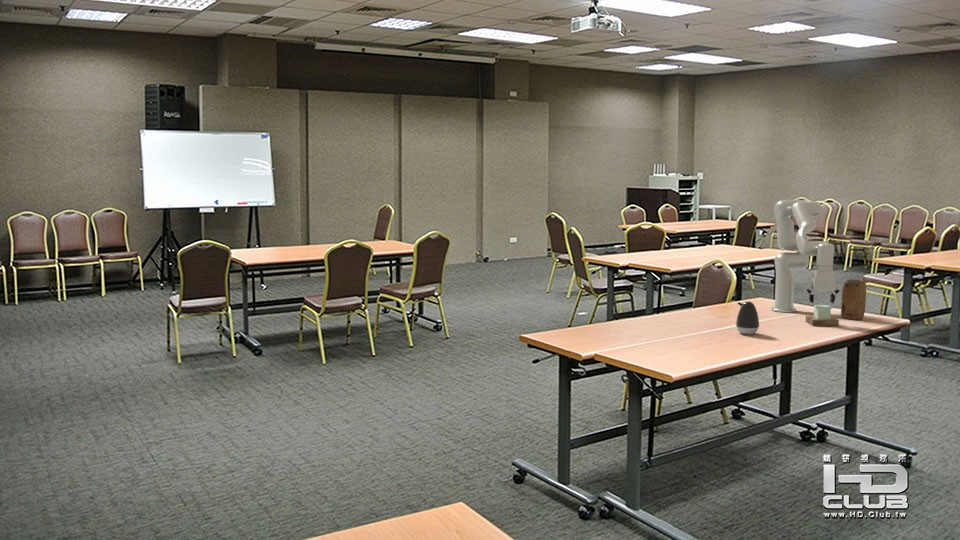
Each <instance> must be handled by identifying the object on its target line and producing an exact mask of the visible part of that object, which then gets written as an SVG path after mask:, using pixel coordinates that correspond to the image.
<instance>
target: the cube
mask: <svg viewBox="0 0 960 540" xmlns="http://www.w3.org/2000/svg"><path fill="white" fill-rule="evenodd" d="M831 311H832V307H831V306H829V305H828V304H814V306H813V316H814V317H815V318H817V319H830V316H831V313H832V312H831Z"/></svg>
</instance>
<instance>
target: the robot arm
mask: <svg viewBox="0 0 960 540" xmlns="http://www.w3.org/2000/svg"><path fill="white" fill-rule="evenodd" d="M773 211H774V212H773V213H774V218H775V221H776V236H777V237H776V240H777V241H776V242H777V248H779V249H780V250H783V251H792V250H793V251H795V252H780V253H778V254H776V256H775V257H774V268H775V287H774V288H775V291H774V306H771V311H773V312H779V313H796V312H797V308H796V307H794V304H795V303H794V302H795V301H794V300H795V298H794V297H795V280H796V279H795V276H794V274H793V273H792V272H791V271H803V270H806V269H807V268H808V266H809V263H810V262H809V261H810V257H816V262H815V263H816V264H815V265H813V266H812V269H814V271H813V274H812V280H811V281H810V282H809V283H807V284H805V285H804V289H805V290H806V292H807V293H808V294H809V299H808V300H809V302H810V303H811V304H813V303H814V302H815V301H814V300H815V299H814V298H815V295H814V294H815V293H816V292H819V293H821V292H822V293H830V300H829V301H830V303H831V304H834V303H835V301H836V296H837V294H839V292H840V291H841V289H843V286H841V285H840V284H838V283H836V275H835V271H834V270H833V269H834V268H833V267H834V265H833V264H834V254H835V245H834V244H833V243H829V242H827V241H824V240H809V237H808V235H807V234H809V233H811V232H813V231H814V230H815V229H816V228H817V226H818V225H817V221H816V220H815V218H816V219H817V218H818V217H821V215H822V213H823V212H822V211H823V210H822V206H821V204H820V203H819V202H818V201H814V200H809V199H783V200H779V201H777V202H776V203H775V205H774V210H773ZM792 216H793V217H794V220H795V221H796V224H797V226H798V230H797V231H795V224H794V221H793V220H792V219H791V217H792ZM809 287H811V288H809ZM836 287H837V288H836Z"/></svg>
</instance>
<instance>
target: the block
mask: <svg viewBox="0 0 960 540" xmlns="http://www.w3.org/2000/svg"><path fill="white" fill-rule="evenodd" d="M843 283H844V284H843V286H842V288H841V289H842V290H841V307H840V317H841V318H843V319H848V320H854V321H861V320H863V319H864V317H865V316H864V315H865V312H866V301H867V282H866V281H865V280H860V279H848V280H846V281H845V282H843Z"/></svg>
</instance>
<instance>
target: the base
mask: <svg viewBox="0 0 960 540" xmlns="http://www.w3.org/2000/svg"><path fill="white" fill-rule="evenodd" d="M805 323H806V324H809V325H810V326H812V327H836V328H838V327H839V325H840V324H839V323H840V320H839V319H836V318H835V317H833V316H831V315H830V319H817V318H815V317H814V315H805Z"/></svg>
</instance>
